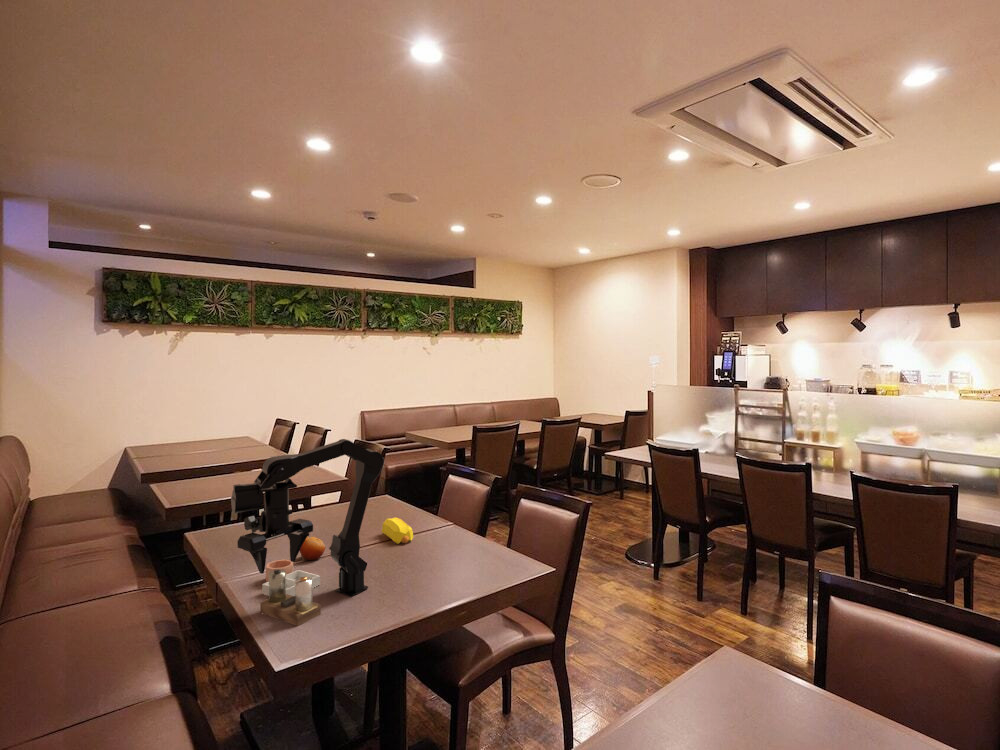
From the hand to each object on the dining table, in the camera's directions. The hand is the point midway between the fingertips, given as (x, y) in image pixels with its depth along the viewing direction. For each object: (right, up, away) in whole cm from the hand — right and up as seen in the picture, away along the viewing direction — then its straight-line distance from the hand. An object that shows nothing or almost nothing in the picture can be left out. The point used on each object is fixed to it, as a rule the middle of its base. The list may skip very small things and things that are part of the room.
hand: (277, 567), depth 137 cm
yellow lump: (+20, -11, +58) cm, 62 cm away
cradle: (+4, -11, -3) cm, 12 cm away
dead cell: (0, -8, 0) cm, 8 cm away
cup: (-7, -11, +19) cm, 23 cm away
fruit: (-4, -11, +37) cm, 39 cm away
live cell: (+9, -8, -5) cm, 13 cm away
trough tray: (-1, -11, +12) cm, 16 cm away
